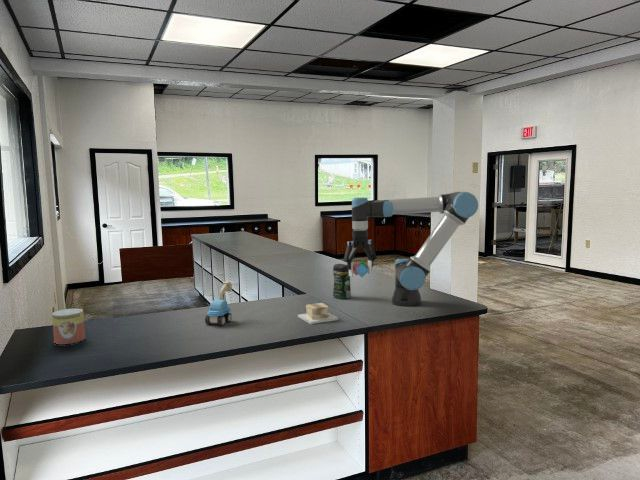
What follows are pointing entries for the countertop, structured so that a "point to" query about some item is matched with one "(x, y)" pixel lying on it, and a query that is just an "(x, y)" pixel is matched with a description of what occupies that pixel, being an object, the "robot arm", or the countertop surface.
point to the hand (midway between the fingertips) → (360, 274)
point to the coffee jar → (341, 282)
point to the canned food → (68, 325)
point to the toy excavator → (220, 308)
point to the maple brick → (317, 311)
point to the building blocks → (360, 268)
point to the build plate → (314, 321)
